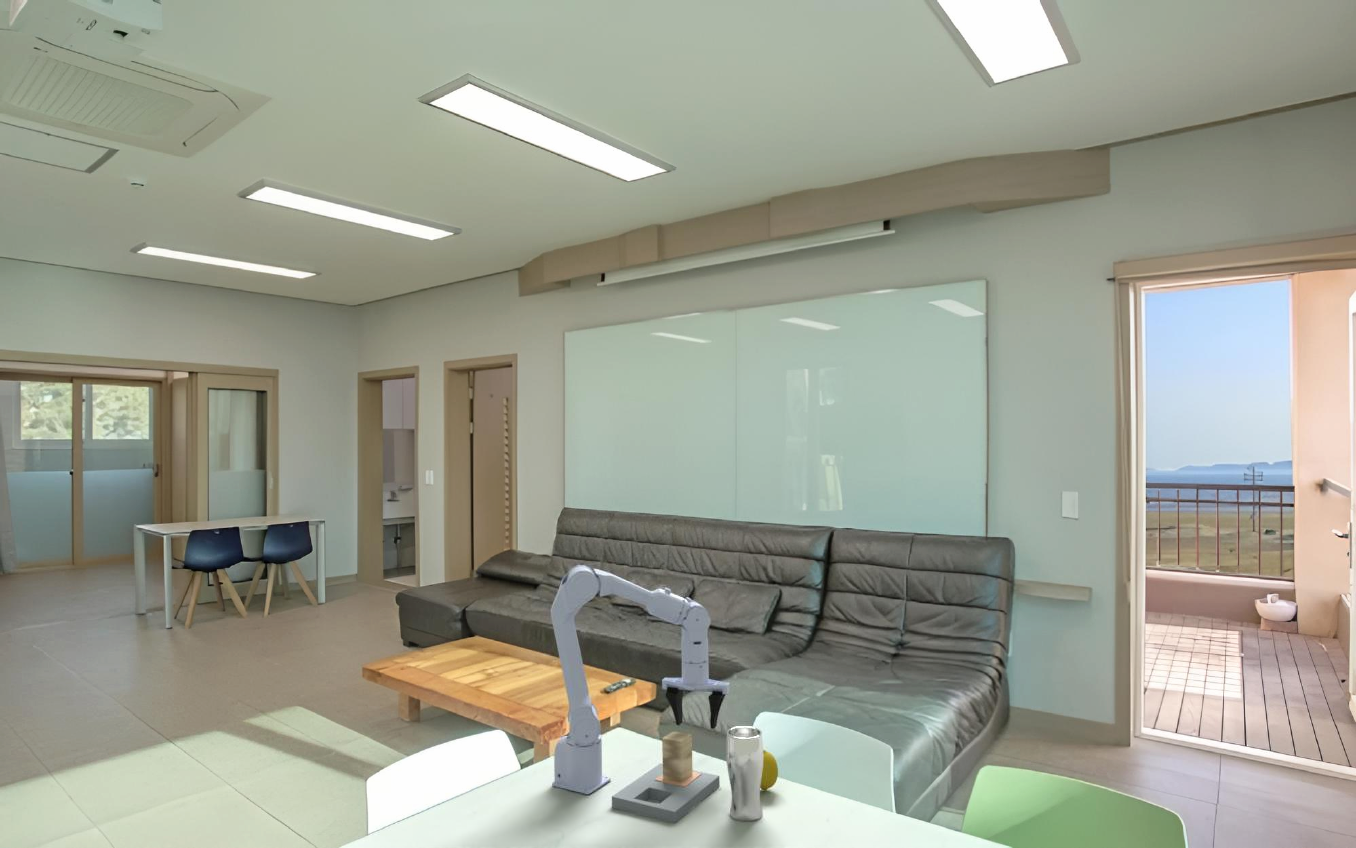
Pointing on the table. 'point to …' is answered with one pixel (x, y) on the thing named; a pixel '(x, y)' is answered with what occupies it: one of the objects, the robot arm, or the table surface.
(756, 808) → the beer glass
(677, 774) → the peg
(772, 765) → the lemon
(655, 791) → the pocket board
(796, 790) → the table surface
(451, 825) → the table surface
